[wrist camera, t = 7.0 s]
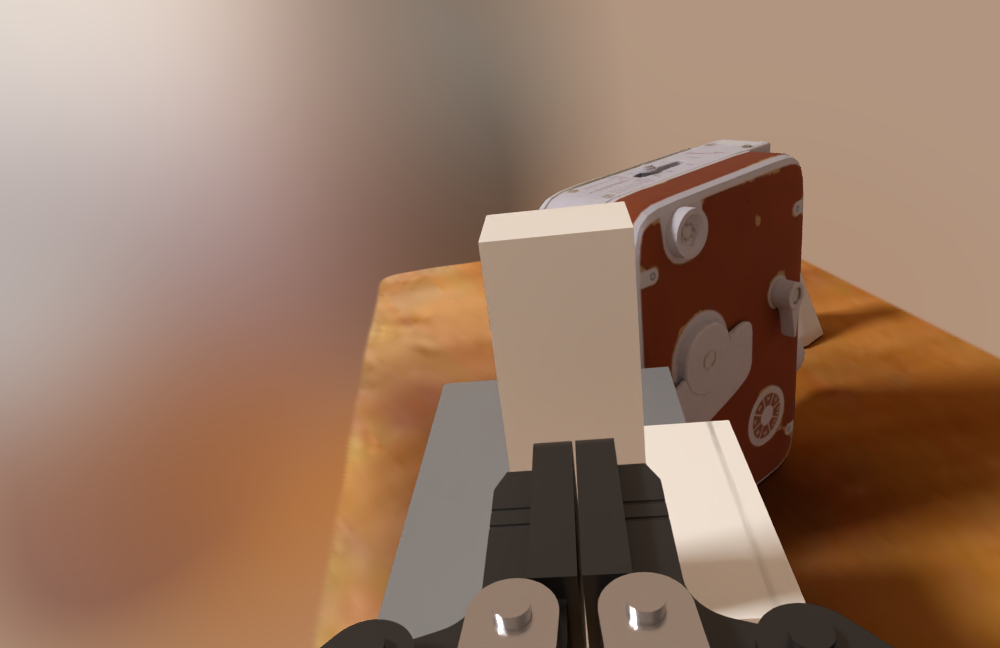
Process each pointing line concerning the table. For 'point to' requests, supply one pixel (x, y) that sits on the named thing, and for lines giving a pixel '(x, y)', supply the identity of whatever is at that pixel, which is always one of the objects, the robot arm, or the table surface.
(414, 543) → the camera housing
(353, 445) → the table surface
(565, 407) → the grooved cream block
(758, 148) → the brown boxy piece
